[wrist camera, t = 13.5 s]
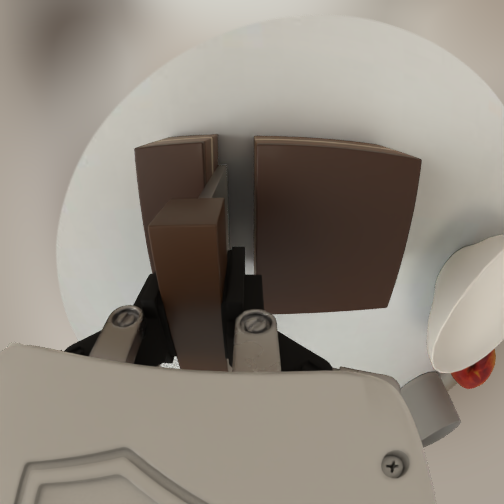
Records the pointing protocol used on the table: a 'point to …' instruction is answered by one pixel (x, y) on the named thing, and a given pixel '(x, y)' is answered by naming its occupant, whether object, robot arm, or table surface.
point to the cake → (330, 222)
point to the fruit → (476, 372)
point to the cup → (430, 407)
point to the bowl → (467, 307)
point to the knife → (194, 272)
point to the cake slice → (173, 173)
